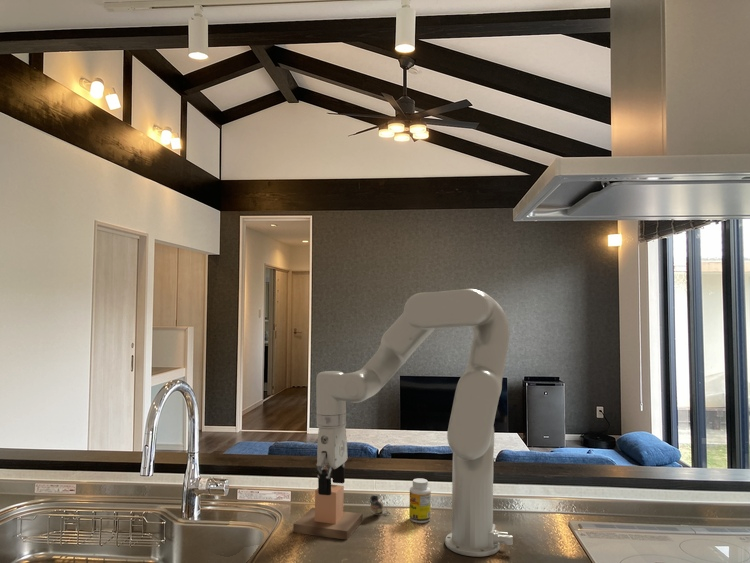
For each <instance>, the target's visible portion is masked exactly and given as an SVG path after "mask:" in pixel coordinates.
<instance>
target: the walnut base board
mask: <svg viewBox="0 0 750 563" xmlns="http://www.w3.org/2000/svg"><path fill="white" fill-rule="evenodd" d="M362 523H363V513H358V512H352V511H344V510H343V517H342V518H341V519H340V520H339V521H338V522H337V523H336V524H332V523H324V522H316V521H315V507H312V508H311V507H310V509H309V510H308V511H306V512H305V514H303V515H302V516H301V517H300V518H298V520H296V521H295V522H294V523H293V525H292V527H293V529H292V530H293V532H292V533H296V534H304V535H312V536H317V537H324V538H333V539H338V540H348V539H349V538H350V537H351V536H352V534H354V533H355V531H356V530H357V528H358V527H359V526H360V525H361V524H362Z"/></svg>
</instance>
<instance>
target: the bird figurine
mask: <svg viewBox="0 0 750 563" xmlns="http://www.w3.org/2000/svg"><path fill="white" fill-rule="evenodd" d="M369 502H370V511H371V512H372V514H373V515H375V516H385V517H388V515H391V512H390V511H388V510H385V509H384V503H383V501H382V500H381V499H379V496H377V495H371V496H370V497H369Z"/></svg>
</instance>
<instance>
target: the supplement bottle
mask: <svg viewBox="0 0 750 563" xmlns="http://www.w3.org/2000/svg"><path fill="white" fill-rule="evenodd" d="M431 492H432V490H431V488H430V487H429V482H428V480H427V479H425V478H414V479H413V480H412V486H411V487H410V488H409V505H408V506H409V514H408V515H409V517H408V518H409V520H410V521H411V522H414V523H416V524H426V523H428V522H430V520H431V515H432V514H431V507H432V506H431V504H432V503H431V501H432V494H431Z"/></svg>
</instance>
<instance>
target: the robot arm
mask: <svg viewBox="0 0 750 563" xmlns="http://www.w3.org/2000/svg"><path fill="white" fill-rule="evenodd" d="M461 327H472V329H473V337H472V341H471V345H470V349H469V350H470V352H469V357H468V360H467V361H468V362H467V366H466V369H465V371H464V373H463V374H462V375H461V376H460V378H459V380H458V382H457V384H456V388H455V392H454V396H453V402H452V407H451V412H450V417H449V422H448V428H447V434H446V435H447V436H446V438H447V444H448V446H449V448H450V450H451V451H452V476H451V477H452V479H451V480H452V483H451V484H452V485H451V486H452V487H451V488H452V489H451V491H452V492H451V493H452V494H451V498H452V499H451V532H450V533H448V534H447V535H446V537H445V539H444V542H445V547H447V549H448V550H449V551H451V552H453V553H456V554H458V555H462V556H467V557H477V558H479V557H481V558H482V557H488V556H492V555H494V554H495V555H496V553H498V551H500V549H501V548H500V545H501V544H504V545H507V546H508V545H509V546H513V543H514V542H513V540H514V539H513V538H514V537H513V535H509V532H507V531H499V530H498V529H496V524H495V523H494V454H495V453H494V450H495V426H494V424H495V419H496V415H497V411H498V405H499V400H500V397H501V393H502V389H503V378H504V371H505V365H506V361H507V354H508V348H509V342H510V325H509V321H508V317H507V315H506V313H505V311H504V309H503V307H502V306H501V305H500V303H498V302H497V301H496V299H494V298H493V297H491V296H490V295H489V294H487V293H486V292H485V291H481V290H478V289H476V288H475V289H474V288H462V289H453V290H442V291H428V292H417V293H414V294H413V295H411V296H410V297H409V298H408V299H407V300H406V302H405V304H404V307H403V312H402V313H401V315H400V316H398V317H397V319H396V320H395V321H394V322H393V323H392V324H391V326H389V328H388V329H387V330H386V331H385V332H384V333H383V335H382V336H381V338H380V340H381V342H380V344H379V348H378V349H377V350H376V352H375V353H374V354H373V355H372V357H371V358H370V359H368V361H367V362H366V363H365V364H364V365H363V367H361V368H360V369H358V370H356V371H353V372H346V373H344V372H343V371H339V370H325V371H321V372H318V374H317V375H316V379H315V380H316V381H315V383H316V384H315V385H316V388H315V389H316V396H315V397H316V403H315V404H316V428H318V432H317V433H318V434H317V445H316V446H317V451H316V452H317V453H316V454H317V455H316V456H317V457H316V459H317V461H316V469H317V470H316V473H317V482H318V484H317V485H318V486H317V488H318V493H319V494H320V495H331V485H332V483H335V484H344V483H346V482H345V480H346V478H345V476H346V475H345V474H346V473H345V472H346V471H345V466H346V462H347V461H348V440H347V438H348V437H347V430H346V426H347V404H346V403H352V404H353V403H355V404H357V403H358V404H359V403H362V402H364V401H366V400H368V399H369V398H372V397H374V396H375V395H376V394H378V393H379V392H380V391H381V389H382V388H384V386H386V384H387V383H388V382H389V381H390V380H391V379H392V377H394V376H395V374H396V373H398V372H397V371H398V370H400V369H401V367H402V366H403V365H404V364H405V363H406V362H407V361H408V359H409V358H410V357H411V356H412V354H413V353H414V352H415V351H416V350H417V349H418V348H419V347H420V346H421V344H423V342H424V341H426V339H427V338H428V337H429V336H430V335H431V334H432V333H433V331H435V329H446V328H461ZM331 474H332V478H331Z"/></svg>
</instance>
